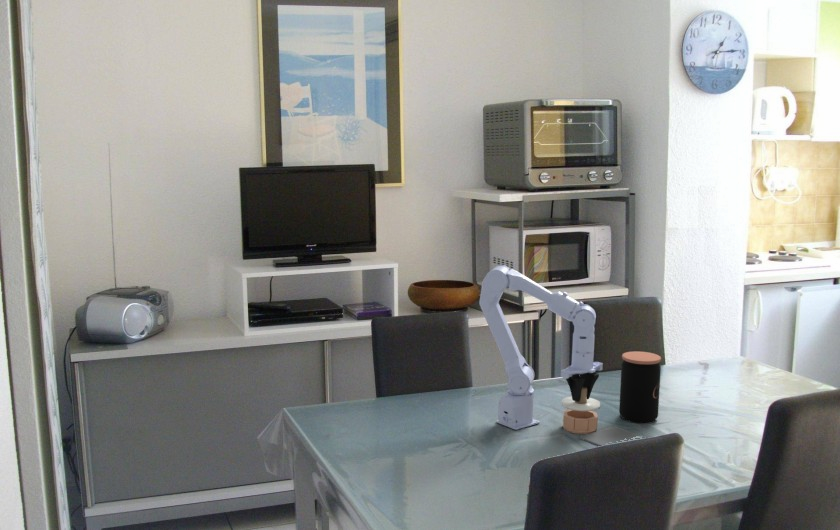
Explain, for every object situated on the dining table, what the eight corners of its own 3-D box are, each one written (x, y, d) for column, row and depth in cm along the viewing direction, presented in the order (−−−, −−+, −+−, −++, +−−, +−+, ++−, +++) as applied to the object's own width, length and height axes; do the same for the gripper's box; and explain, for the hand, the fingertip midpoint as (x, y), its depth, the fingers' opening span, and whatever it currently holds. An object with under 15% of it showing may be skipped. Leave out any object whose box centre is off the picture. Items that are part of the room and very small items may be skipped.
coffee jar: (659, 425, 234) (662, 362, 232) (619, 422, 236) (622, 359, 234) (656, 413, 245) (659, 352, 242) (618, 410, 247) (621, 350, 244)
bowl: (581, 436, 225) (581, 422, 225) (556, 427, 232) (556, 413, 232) (603, 429, 231) (604, 415, 230) (578, 420, 238) (579, 406, 237)
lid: (582, 413, 223) (583, 396, 223) (553, 403, 231) (553, 386, 231) (608, 406, 230) (609, 389, 229) (579, 396, 238) (579, 380, 237)
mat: (611, 450, 215) (611, 449, 215) (578, 438, 224) (578, 436, 224) (646, 439, 224) (646, 437, 224) (613, 427, 232) (613, 426, 232)
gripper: (575, 358, 221) (573, 408, 223) (612, 350, 229) (609, 398, 232) (555, 352, 226) (553, 401, 228) (592, 344, 235) (590, 391, 237)
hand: (580, 399), depth 230 cm, fingers closed on lid, 3 cm apart
